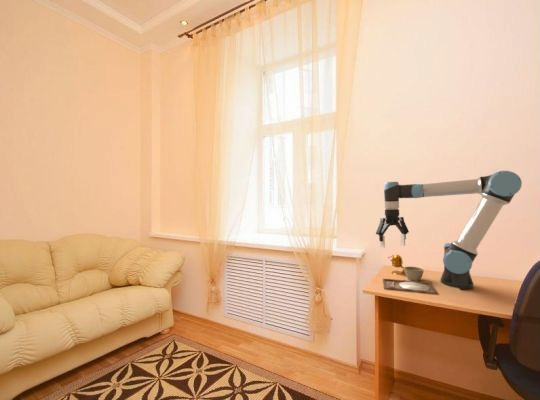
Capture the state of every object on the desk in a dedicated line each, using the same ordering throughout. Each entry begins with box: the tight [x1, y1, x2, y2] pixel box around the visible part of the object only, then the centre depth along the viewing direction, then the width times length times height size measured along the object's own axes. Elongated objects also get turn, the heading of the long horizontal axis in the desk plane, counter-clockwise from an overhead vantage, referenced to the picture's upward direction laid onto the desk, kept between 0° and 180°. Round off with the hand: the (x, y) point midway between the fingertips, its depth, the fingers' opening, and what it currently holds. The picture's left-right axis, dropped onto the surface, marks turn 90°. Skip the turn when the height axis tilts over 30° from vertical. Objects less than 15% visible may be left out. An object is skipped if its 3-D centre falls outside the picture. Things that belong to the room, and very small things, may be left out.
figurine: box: [387, 254, 406, 276], centre depth 175 cm, size 9×11×12 cm
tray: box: [382, 278, 438, 295], centre depth 148 cm, size 24×16×2 cm, turn 71°
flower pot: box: [403, 266, 424, 282], centre depth 160 cm, size 10×10×7 cm
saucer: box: [399, 282, 429, 291], centre depth 147 cm, size 14×14×1 cm
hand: (392, 246), depth 158 cm, fingers open, 13 cm apart
